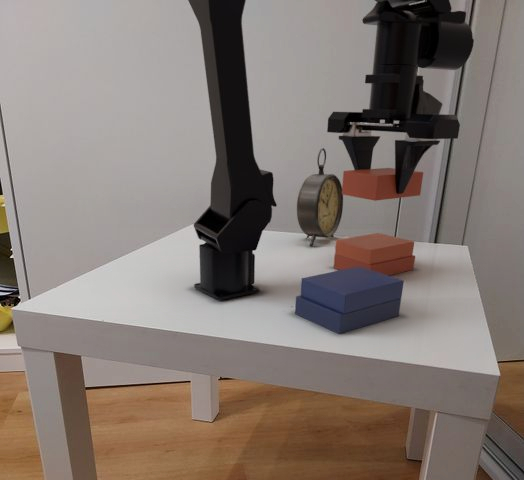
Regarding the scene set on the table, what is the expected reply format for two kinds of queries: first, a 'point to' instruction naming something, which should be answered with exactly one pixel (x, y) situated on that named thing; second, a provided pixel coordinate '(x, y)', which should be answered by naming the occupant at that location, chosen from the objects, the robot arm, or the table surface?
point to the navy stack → (349, 298)
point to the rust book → (378, 184)
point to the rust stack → (375, 253)
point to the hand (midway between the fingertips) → (381, 190)
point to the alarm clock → (320, 204)
